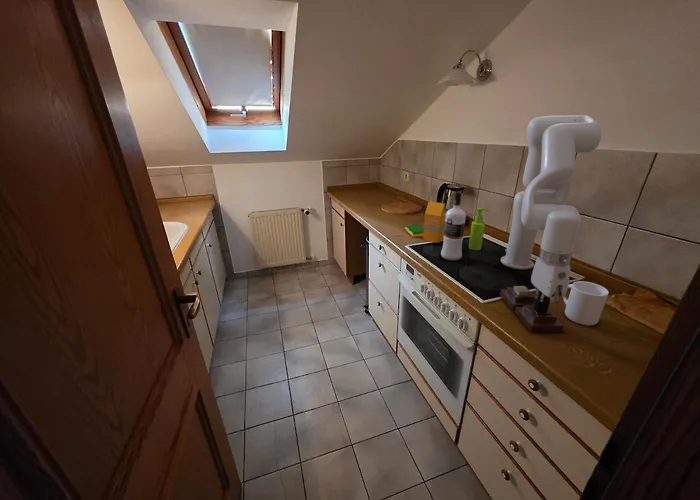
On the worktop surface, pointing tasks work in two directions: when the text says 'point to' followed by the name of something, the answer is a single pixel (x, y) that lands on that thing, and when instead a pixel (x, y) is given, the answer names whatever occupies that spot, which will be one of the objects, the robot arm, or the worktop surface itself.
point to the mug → (585, 302)
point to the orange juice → (434, 222)
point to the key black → (539, 312)
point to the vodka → (454, 231)
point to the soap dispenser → (477, 231)
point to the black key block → (538, 320)
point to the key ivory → (521, 290)
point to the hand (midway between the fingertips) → (540, 310)
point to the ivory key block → (516, 298)
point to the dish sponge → (414, 230)
